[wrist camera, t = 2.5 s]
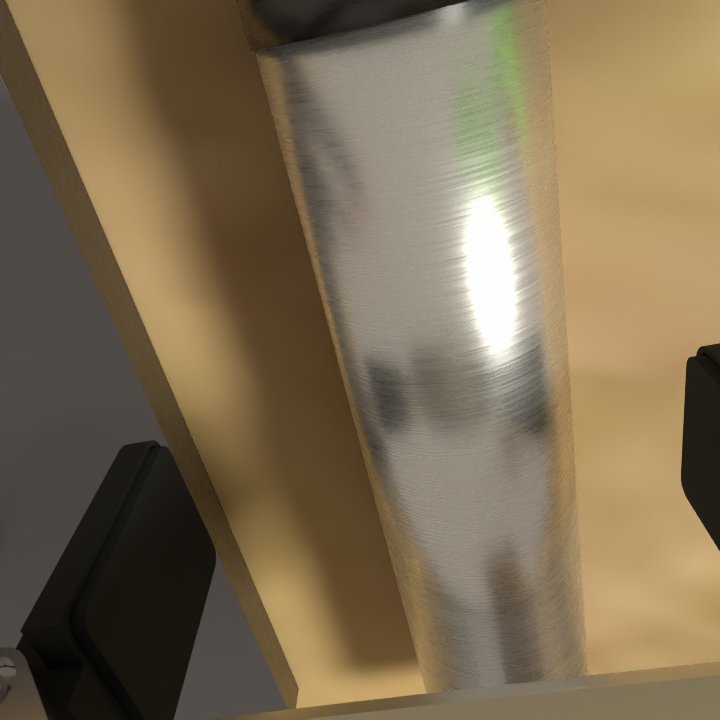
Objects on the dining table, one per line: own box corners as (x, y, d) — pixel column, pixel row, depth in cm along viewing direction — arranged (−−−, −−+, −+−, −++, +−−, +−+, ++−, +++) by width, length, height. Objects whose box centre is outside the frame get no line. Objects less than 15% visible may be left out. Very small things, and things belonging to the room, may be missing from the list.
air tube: (232, -129, 11) (141, -204, 7) (503, -206, 10) (577, -340, 6) (425, 637, 20) (434, 791, 16) (569, 623, 19) (614, 779, 16)
